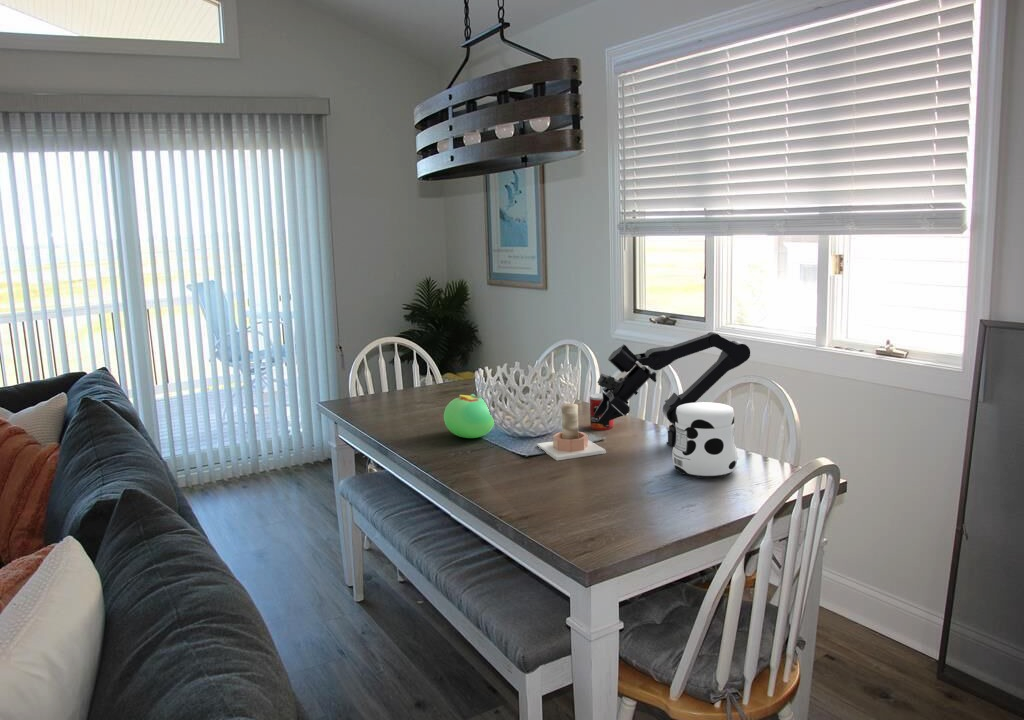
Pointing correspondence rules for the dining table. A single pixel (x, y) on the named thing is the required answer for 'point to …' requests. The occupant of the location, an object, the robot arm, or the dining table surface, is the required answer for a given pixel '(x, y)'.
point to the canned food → (594, 404)
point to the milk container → (704, 440)
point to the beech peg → (570, 421)
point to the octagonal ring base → (570, 447)
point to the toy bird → (468, 417)
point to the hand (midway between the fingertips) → (596, 419)
